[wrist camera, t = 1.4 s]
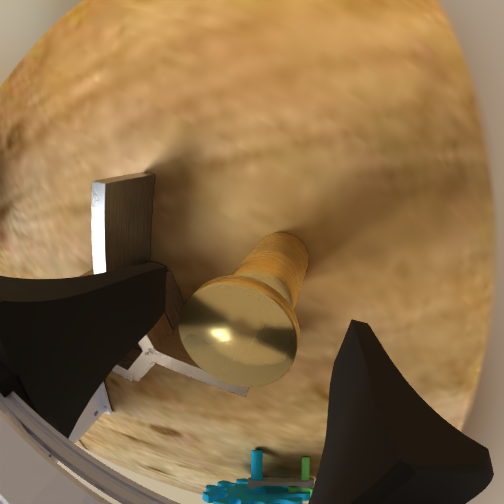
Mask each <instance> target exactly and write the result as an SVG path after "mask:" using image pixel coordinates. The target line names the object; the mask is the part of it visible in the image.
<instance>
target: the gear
mask: <svg viewBox="0 0 504 504" xmlns="http://www.w3.org/2000/svg"><path fill="white" fill-rule="evenodd" d="M262 457H263V451H262V450H252V454H251V478H248V479H245V478H244V479H237V480H236V483H232V482H229V481H224V480H223V481H219V482H218V486H215V485H207V486H206V492H203V500H204V501H206V502H208V503H214V504H302V501H308V500H310V497H311V494H312V491H313V488H314V487H313V486H314V478H310V477H309V471H310V457H302V470H301V477H299V478H271V477H262Z"/></svg>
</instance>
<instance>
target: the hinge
mask: <svg viewBox="0 0 504 504" xmlns="http://www.w3.org/2000/svg"><path fill="white" fill-rule="evenodd" d="M154 181H155V174H150V173H143V172H142V173H136V174H130V175H124V176H118V177H113V178H107V179H102V180H97V181H92V250H93V267H94V269H92V270H90V271H88V272H87V273H85V274H83V275H81V276H87V275H93V274H98V273H103V272H108V271H113V270H118V269H122V268H127V267H132V266H136V265H142V264H148V263H155V262H152V261H150V247H151V224H152V207H153V193H154ZM155 264H158V263H155ZM158 265H161V266H165V265H162V264H158ZM165 267H166V266H165ZM81 276H79V277H81ZM184 304H185V302H184V300H183V298H182V295H181V293H180V291H179V289H178V286H177V284H176V282H175V280H174V277H173V275H172V273H171V271H168V272H166V305H165V312H164V313H163V315H162V316H161V318H160V319H159V320H158V322H157V323H156V324H155V326H154V327H153V328H152V329H151V330H150V331H149V332H148V333H147V334H146V335H145V336H144V337H143V338H142V339H141V340H140V341H139V342H138V343H137V344H136V345H135V346H134V347H133V348H132V349H131V350H130V351H129V352H128V353H127V354H126V355H125V356H124V357H123V358H122V359H121V360H120V361H119V362H118V364H117V365H116V366H115V367H114V368H113V369H112V371H113V372H114V373H116V374H118V375H120V376H122V377H124V378H126V379H128V380H130V381H132V382H133V381H134V380H135V381H136V382H138V381H139V380H140V379H141V378H142V377H143V376H144V375H145V374H146V373H147V372H148V371H149V370H150V368H151V367H152V366H153V365H154V364H155V363H157V364H159V365H162V366H164V367H166V368H169V369H171V370H174V371H176V372H178V373H181V374H183V375H186V376H188V377H191V378H193V379H196V380H199V381H201V382H204V383H207V384H209V385H212V386H215V387H218V388H220V389H223V390H226V391H229V392H232V393H235V394H238V395H241V396H244V397H246V394H247V392H248V390H249V387H244V386H237V385H233V384H229V383H226V382H224V381H221V380H219V379H217V378H215V377H213V376H212V375H210V374H208V373H207V372H206V371H204V370H203V369H202V368H201V367H199V366H198V365H197V364H196V363H195V362H194V360H193V359H192V358H191V357H190V355H189V354H188V353H187V351H186V349H185V347H184V345H183V343H182V341H181V337H180V333H179V324H178V322H179V315H180V312H181V309H182V307H183V305H184Z"/></svg>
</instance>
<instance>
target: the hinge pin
mask: <svg viewBox="0 0 504 504" xmlns="http://www.w3.org/2000/svg"><path fill="white" fill-rule="evenodd" d="M307 266H308V253H307V250H306V248H305V246H304V245H303V243H302V242H301V241H300V240H299V239H298V238H296V237H295V236H293V235H291V234H288V233H273V234H270V235H268V236H266V237H265V238H264V239H263V240H262V241H261V242H260V243H259V244H258V245H257V246H256V247H255V248H254V250H253V251H252V252H251V253H250V254H249V255H248V256H247V257H246V258H245V260H244V261H243V262H242V263H241V264H240V265H239V266H238V267H237V269H236V270H235V271H234V272H233V273H232V274H231V275H226V276H220V277H217V278H214V279H212V280H210V281H208V282H206V283H205V284H203V285H202V286H201V287H200V288H199V289H198V290H197V291H196V292H195V293H194V294H193V295H192V296H191V297H190V298H189V299H188V300H187V301H186V302H185V304H184V305H183V307H182V309H181V312H180V315H179V322H178V324H179V333H180V337H181V341H182V343H183V345H184V347H185V349H186V351H187V353H188V354H189V355H190V357H191V358H192V359H193V360H194V362H195V363H196V364H197V365H198V366H199V367H201V368H202V369H203V370H204V371H206V372H207V373H208V374H210V375H212V376H213V377H215V378H217V379H219V380H221V381H224V382H226V383H229V384H233V385H237V386H244V387H256V386H263V385H267V384H270V383H272V382H274V381H276V380H278V379H280V378H281V377H282V376H284V375H285V374H286V372H287V371H288V370H289V369H290V367H291V366H292V364H293V361H294V359H295V355H296V351H297V347H298V343H299V339H300V329H299V323H298V319H297V317H296V314H295V312H294V309H295V306H296V302H297V299H298V296H299V293H300V290H301V286H302V283H303V280H304V276H305V273H306V270H307Z"/></svg>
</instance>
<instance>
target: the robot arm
mask: <svg viewBox="0 0 504 504" xmlns="http://www.w3.org/2000/svg"><path fill="white" fill-rule="evenodd" d="M166 268H167V267H165V266H161V265H158V264H155V263H148V264H142V265H136V266H132V267H127V268H122V269H118V270H113V271H108V272H103V273H98V274H93V275H87V276H81V277H74V278H63V279H21V278H11V277H4V276H0V504H111V503H110V502H108V501H107V500H105V499H104V498H102V497H101V496H99V495H98V494H96V493H95V492H93V491H92V490H91V489H89V488H88V487H86V486H85V485H84V484H82V483H81V482H80V481H78V480H77V479H75V478H74V477H73V476H72V475H71V474H69V473H68V472H67V471H66V470H65V469H63V468H62V467H61V466H60V465H58V464H57V462H58V460H59V461H60V462H62V463H63V464H64V465H65V466H67V467H68V468H69V469H71V470H72V471H73V472H75V473H76V474H77V475H79V476H80V477H81V478H83V479H84V480H86V481H87V482H89V483H90V484H92V485H93V486H95V487H96V488H98V489H99V490H101V491H102V492H104V493H105V494H107V495H109V496H110V497H112V498H114V499H115V500H117V501H119V502H120V503H122V504H179V503H177V502H175V501H172V500H170V499H168V498H166V497H164V496H161V495H159V494H157V493H155V492H153V491H151V490H149V489H147V488H145V487H143V486H141V485H139V484H137V483H136V482H134V481H132V480H130V479H128V478H127V477H125V476H123V475H121V474H120V473H118V472H116V471H114V470H113V469H111V468H110V467H108V466H106V465H105V464H103V463H102V462H100V461H99V460H97V459H95V458H94V457H92V456H91V455H90V454H88V453H87V452H85V451H84V450H82V449H81V448H80V447H78V446H77V445H75V444H74V443H75V442H77V441H78V440H79V439H80V438H81V437H82V436H83V435H84V433H85V432H86V431H87V430H88V429H89V428H90V427H91V426H92V425H93V424H94V422H95V421H96V420H97V419H98V418H99V417H100V416H101V415H102V414H103V412H105V413H107V414H109V415H110V414H111V413H112V410H111V407H110V403H109V400H108V396H107V392H106V389H105V385H104V380H105V378H106V377H107V376H108V374H109V373H110V372H111V371H112V369H113V368H114V367H115V366H116V365H117V364H118V362H119V361H120V360H121V359H122V358H123V357H124V356H125V355H126V354H127V353H128V352H129V351H130V350H131V349H132V348H133V347H134V346H135V345H136V344H137V343H138V342H139V341H140V340H141V339H142V338H143V337H144V336H145V335H146V334H147V333H148V332H149V331H150V330H151V329H152V328H153V327H154V326H155V324H156V323H157V322H158V320H159V319H160V318H161V316H162V315H163V313H164V312H165V305H166ZM493 475H494V473H493V468H492V463H491V459H490V455H489V450H488V449H487V448H486V447H484V446H482V445H481V444H479V443H477V442H476V441H474V440H472V439H471V438H469V437H467V436H466V435H464V434H463V433H461V432H460V431H459V430H457V429H456V428H455V427H453V426H452V425H451V424H449V423H448V422H447V421H446V420H445V419H443V418H442V417H441V416H440V415H439V414H438V413H436V412H435V411H434V410H433V409H432V408H431V407H430V406H429V405H428V404H427V403H426V402H425V401H424V400H423V399H422V398H421V397H420V396H419V395H418V394H417V393H416V391H415V390H414V389H413V388H412V387H411V386H410V385H409V383H408V382H407V381H406V380H405V378H404V377H403V376H402V374H401V373H400V372H399V370H398V369H397V368H396V366H395V365H394V363H393V362H392V361H391V359H390V358H389V356H388V355H387V353H386V352H385V350H384V348H383V347H382V345H381V344H380V342H379V340H378V339H377V337H376V336H375V334H374V332H373V331H372V329H371V328H370V326H369V325H368V323H364V322H360V321H356V320H351V323H350V325H349V328H348V330H347V333H346V335H345V338H344V340H343V343H342V345H341V348H340V350H339V352H338V355H337V357H336V359H335V362H334V366H333V371H332V377H331V382H330V391H329V406H328V419H327V431H326V439H325V445H324V450H323V454H322V458H321V462H320V466H319V470H318V474H317V477H316V481H315V484H314V488H313V491H312V494H311V497H310V500H309V503H308V504H466V503H467V502H468V501H470V500H471V499H473V498H474V497H476V496H477V495H478V494H479V493H481V492H482V491H483V490H484V489H485V488H486V487H487V486H488V485H489V483H490V482H491V480H492V478H493Z"/></svg>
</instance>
